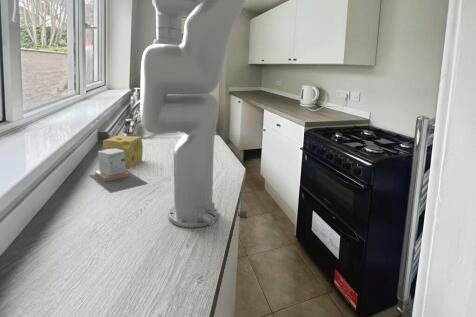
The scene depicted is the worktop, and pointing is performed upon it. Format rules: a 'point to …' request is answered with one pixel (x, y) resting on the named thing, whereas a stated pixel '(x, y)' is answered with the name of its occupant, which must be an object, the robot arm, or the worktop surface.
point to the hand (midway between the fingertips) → (170, 92)
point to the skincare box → (111, 161)
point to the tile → (107, 177)
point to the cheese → (126, 148)
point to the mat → (119, 182)
